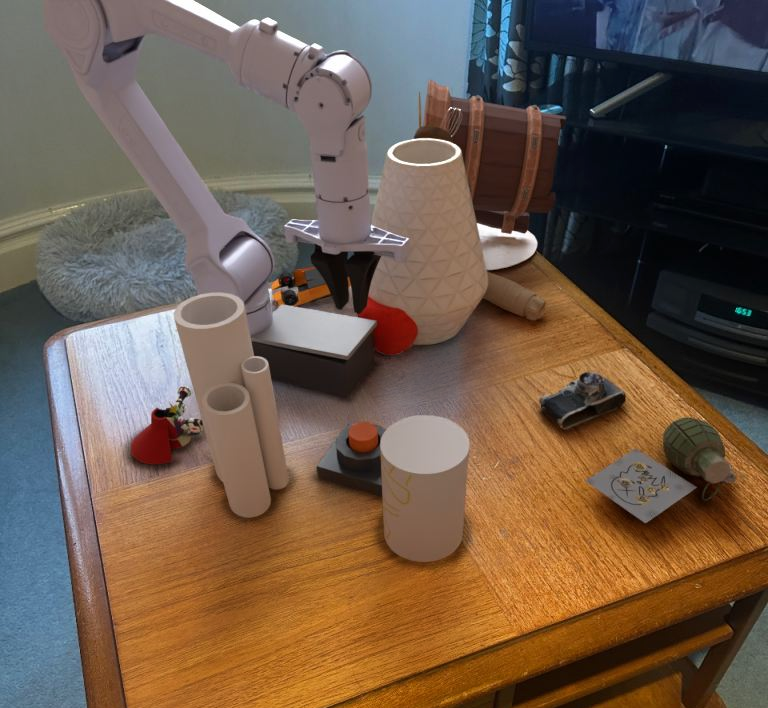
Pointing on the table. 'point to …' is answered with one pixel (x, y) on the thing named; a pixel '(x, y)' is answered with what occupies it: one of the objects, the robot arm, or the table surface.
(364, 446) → the button
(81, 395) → the table surface
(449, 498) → the cup
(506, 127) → the wooden chest
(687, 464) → the grenade
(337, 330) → the lid
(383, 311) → the apple
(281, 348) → the lidded storage box
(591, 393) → the camera
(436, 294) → the vase
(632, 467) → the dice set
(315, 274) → the toy car
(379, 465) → the block
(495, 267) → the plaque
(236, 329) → the vase
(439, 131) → the utensil holder
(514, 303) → the handle
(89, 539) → the table surface
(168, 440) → the action figure
